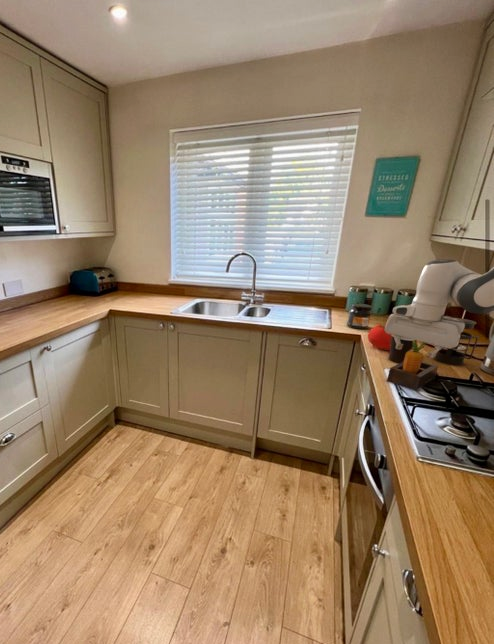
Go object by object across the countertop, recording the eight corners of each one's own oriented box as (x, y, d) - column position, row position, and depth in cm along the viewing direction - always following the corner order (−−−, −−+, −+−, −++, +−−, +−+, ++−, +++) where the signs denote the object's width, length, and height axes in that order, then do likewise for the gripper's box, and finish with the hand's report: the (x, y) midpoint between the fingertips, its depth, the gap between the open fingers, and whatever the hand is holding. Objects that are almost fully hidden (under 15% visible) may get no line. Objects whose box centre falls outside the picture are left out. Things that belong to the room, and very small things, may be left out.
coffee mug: (398, 365, 127) (405, 341, 124) (380, 357, 135) (386, 334, 131) (421, 363, 130) (429, 339, 127) (402, 355, 138) (408, 332, 135)
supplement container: (367, 330, 172) (372, 308, 168) (345, 327, 177) (349, 305, 173) (368, 326, 180) (373, 304, 176) (347, 323, 185) (351, 302, 181)
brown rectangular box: (434, 378, 116) (438, 365, 114) (416, 391, 107) (420, 377, 105) (406, 370, 123) (409, 358, 121) (386, 381, 113) (390, 367, 112)
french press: (429, 359, 134) (446, 303, 126) (435, 354, 140) (452, 301, 132) (465, 368, 126) (486, 309, 118) (470, 363, 132) (491, 306, 124)
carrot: (414, 381, 113) (427, 340, 108) (415, 387, 109) (428, 344, 104) (397, 378, 116) (409, 337, 111) (398, 383, 112) (409, 341, 107)
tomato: (407, 348, 147) (413, 326, 144) (397, 356, 136) (403, 333, 133) (373, 340, 157) (377, 320, 153) (360, 347, 146) (365, 326, 142)
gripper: (470, 318, 98) (455, 361, 103) (396, 304, 113) (386, 342, 118) (463, 321, 95) (448, 365, 100) (388, 306, 110) (378, 346, 115)
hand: (414, 353), depth 109 cm, fingers open, 8 cm apart
